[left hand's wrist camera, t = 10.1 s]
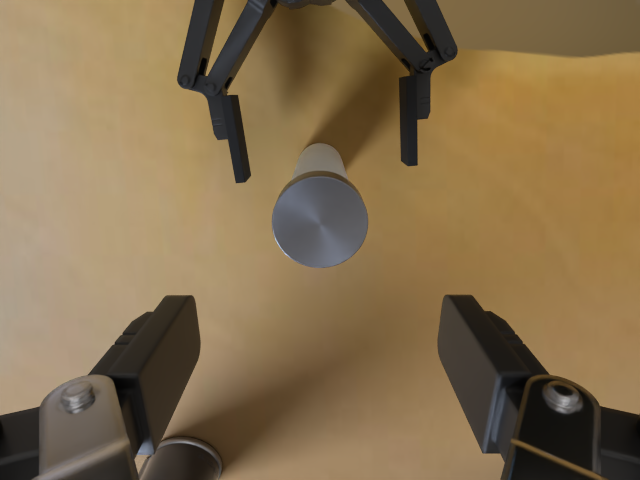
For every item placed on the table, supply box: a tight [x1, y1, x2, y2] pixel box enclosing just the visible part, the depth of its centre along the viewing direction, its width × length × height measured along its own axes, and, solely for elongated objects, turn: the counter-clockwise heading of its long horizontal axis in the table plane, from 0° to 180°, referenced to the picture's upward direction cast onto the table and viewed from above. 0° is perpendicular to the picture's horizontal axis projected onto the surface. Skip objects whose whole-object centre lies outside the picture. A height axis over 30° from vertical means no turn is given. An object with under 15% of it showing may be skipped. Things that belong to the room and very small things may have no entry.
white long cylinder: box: [292, 143, 348, 180], centre depth 29 cm, size 4×4×18 cm
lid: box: [272, 171, 368, 268], centre depth 21 cm, size 5×5×2 cm
